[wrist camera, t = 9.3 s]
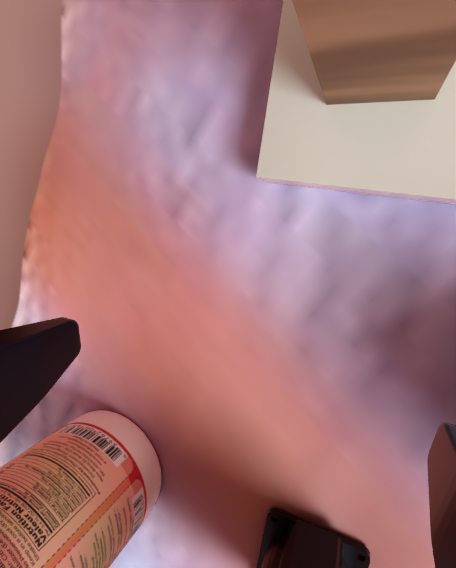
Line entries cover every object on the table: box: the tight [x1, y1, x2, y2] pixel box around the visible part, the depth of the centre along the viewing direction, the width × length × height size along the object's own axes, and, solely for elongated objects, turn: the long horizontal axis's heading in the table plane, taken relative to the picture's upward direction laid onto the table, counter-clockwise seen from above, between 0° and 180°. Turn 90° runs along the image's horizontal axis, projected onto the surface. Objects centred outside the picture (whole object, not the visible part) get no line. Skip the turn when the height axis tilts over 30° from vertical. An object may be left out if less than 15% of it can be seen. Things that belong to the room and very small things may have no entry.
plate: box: [256, 0, 456, 204], centre depth 16 cm, size 12×10×2 cm
